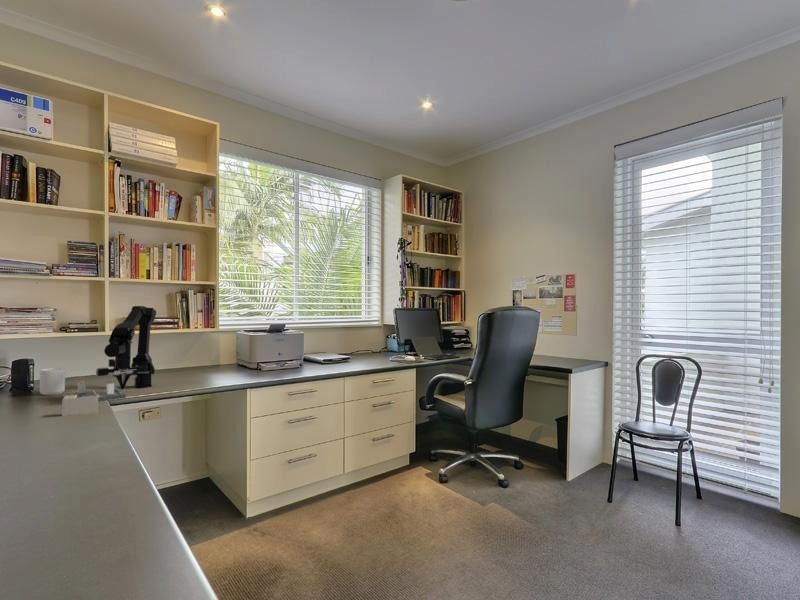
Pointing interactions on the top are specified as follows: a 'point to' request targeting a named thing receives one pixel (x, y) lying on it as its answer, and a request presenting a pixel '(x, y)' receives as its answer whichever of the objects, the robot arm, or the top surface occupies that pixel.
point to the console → (100, 394)
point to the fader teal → (109, 388)
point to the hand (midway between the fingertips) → (122, 389)
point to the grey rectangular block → (81, 387)
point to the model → (79, 405)
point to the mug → (52, 381)
